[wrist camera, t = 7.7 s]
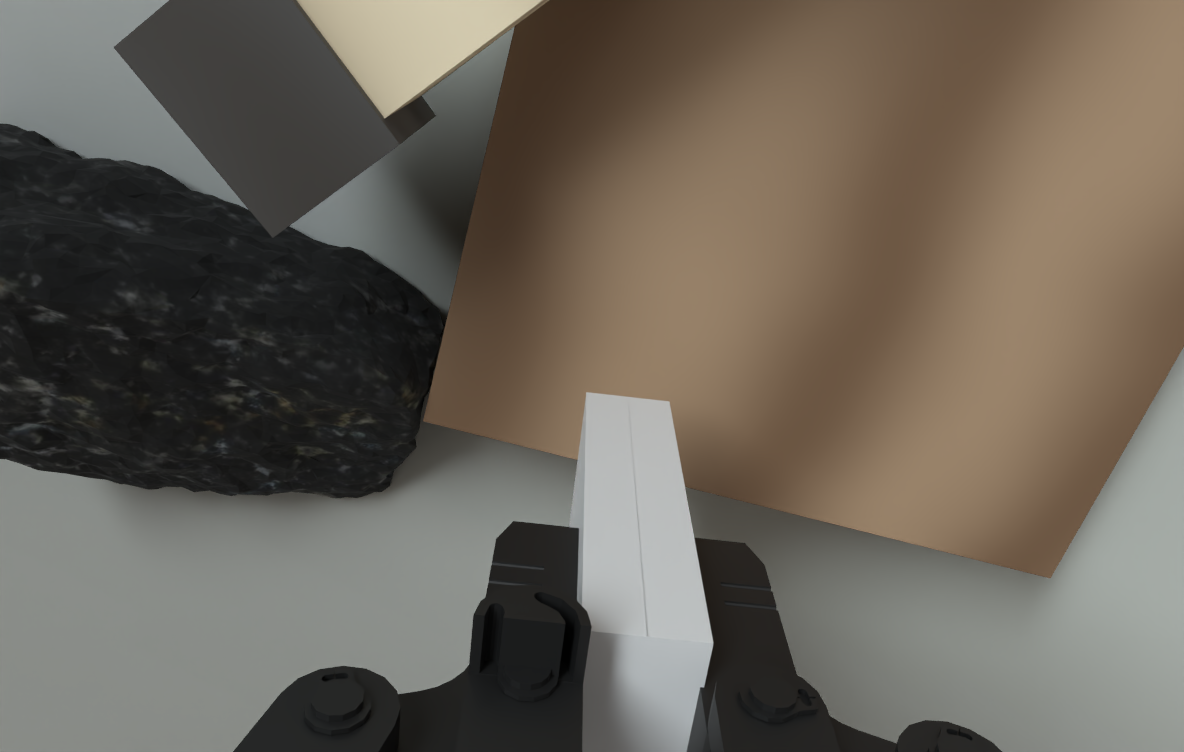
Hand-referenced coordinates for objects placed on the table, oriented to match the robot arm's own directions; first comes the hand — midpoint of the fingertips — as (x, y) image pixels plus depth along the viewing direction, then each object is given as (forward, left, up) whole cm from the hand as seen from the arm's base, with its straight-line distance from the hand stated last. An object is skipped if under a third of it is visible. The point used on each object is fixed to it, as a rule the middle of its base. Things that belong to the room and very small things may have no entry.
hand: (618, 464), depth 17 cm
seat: (+3, +9, -4) cm, 11 cm away
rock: (-9, -1, -5) cm, 10 cm away
